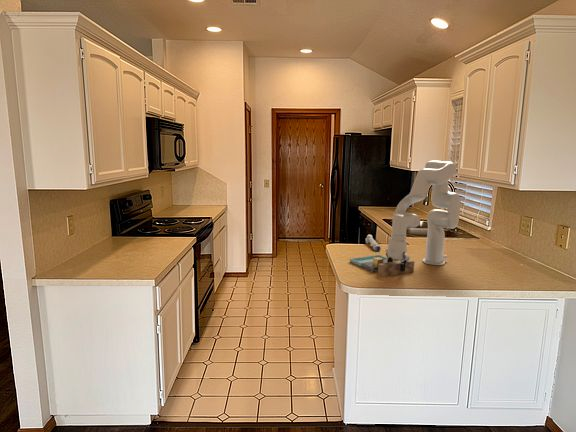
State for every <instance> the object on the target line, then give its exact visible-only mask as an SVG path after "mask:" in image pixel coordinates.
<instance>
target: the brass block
mask: <svg viewBox="0 0 576 432" xmlns="http://www.w3.org/2000/svg"><path fill="white" fill-rule="evenodd" d="M381 263H383V259H382V258H379V257H376V258H373V264H372V265H374V266H376V267H378V264H381Z"/></svg>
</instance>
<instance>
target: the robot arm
mask: <svg viewBox="0 0 576 432" xmlns="http://www.w3.org/2000/svg"><path fill="white" fill-rule="evenodd" d="M424 165H425V166H424V168H422V169H420V170H418V171H417V173H416V176H415V178H414V182H413V183H412V187H411V189H410V192H409V194H407V195H406V196H404V198H402V199H401V200H400V201H399V203H398V204H397V205H396V208H395V210H394V213H393V215H392V223H391V233H390V238H389V240H388V246H387V249H385V257H387V259H388V261H387V263H388V262H393V259H392V258H394V259H396V260H400V262H401V264H400V271H405V266H406V264H407V262H408V261H409V259H410V260H411V257H410V256H409V255H408V254H407V253H408V252H407V250H408V249H407V248H408V247H407V240H406V238H407V231H408V229H407V228H409V229H410V228H411V229H412V228H413V229H414V228H417V227H418V226H419V225H420V223H421V218H420V216H419V215H418V214H416V213H411V212H406V211H407V209H408V208H409V206H411V205H413V204H415V203H418V202H421V201H424V200H426V198H427V194H428V192H429V189H430V187H432V189H431V205H432V206H433V207H436V208H437V209H436V208H435V209H431V210H429V212H428V213H427V216H426V220H427V234H426V235H427V236H426V248H425V257H424V258H422V260H421V261H422V263H424V264H427V265H431V266H443V265H446V264H445V263H446V261H445V259H448V257H449V256H448V255H447V254H446V255H444V246H445V237H446V236H445V235H446V234H445V230H444V229H445V228H446V229H455V228H457V227H458V225H459V221H460V215H461V214H460V212H461V201H462V200H461V197H460V195H459V193H456V192H453V191H452V192H451V191H449V180H451V179H452V178H453V177H454V176H455V174H456V173H457V166H456V164H455V163H454V162H453V161H444V160H443V161H441V160H429V161H427V162H426V163H425V164H424ZM438 208H440V209H438ZM444 209H446V210H444Z"/></svg>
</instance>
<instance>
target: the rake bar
mask: <svg viewBox="0 0 576 432" xmlns="http://www.w3.org/2000/svg"><path fill="white" fill-rule="evenodd" d="M400 264H401V262H400V261H394V262H388V263H381V264H378V272H377V275H378V274H379V275H378V276H380V275H381V276H380V277H387V276H388V275H389V276H394V275H395V276H396V275H400V274H406V273H412V272H414V271H415V270H414V269H415V260H412V259H411V258H410V259H409V261H408V262H407V264H406V266H405V271H400Z"/></svg>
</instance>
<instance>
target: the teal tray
mask: <svg viewBox="0 0 576 432" xmlns="http://www.w3.org/2000/svg"><path fill="white" fill-rule="evenodd" d="M376 257H379V258H382V259H383V260H387V256H384V255H381V254H375V255H367V256H366V255H365V256H360V257H359V256H358V257H352V258H349V263H351V264H353V265H355V266H358V267H360V268H362V263H365V262H372V261H373V258H376Z"/></svg>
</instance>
